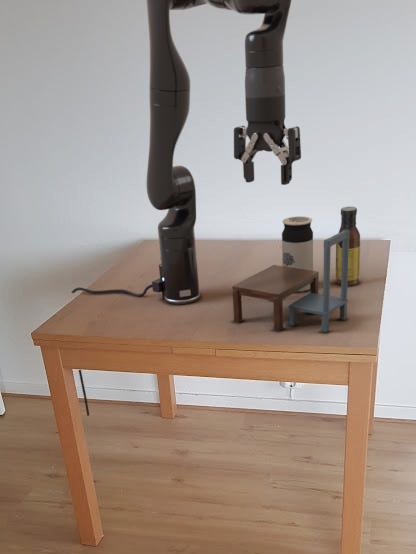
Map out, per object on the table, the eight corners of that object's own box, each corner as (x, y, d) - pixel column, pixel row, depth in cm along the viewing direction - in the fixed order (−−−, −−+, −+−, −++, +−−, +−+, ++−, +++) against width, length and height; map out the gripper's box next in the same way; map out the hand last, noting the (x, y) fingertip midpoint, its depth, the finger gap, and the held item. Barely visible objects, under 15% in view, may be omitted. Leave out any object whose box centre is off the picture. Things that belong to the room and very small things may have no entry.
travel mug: (302, 280, 187) (302, 214, 178) (318, 288, 181) (319, 220, 172) (277, 286, 185) (275, 219, 176) (292, 294, 178) (292, 225, 169)
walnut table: (234, 321, 165) (232, 286, 160) (274, 298, 177) (273, 264, 172) (279, 331, 158) (278, 294, 153) (318, 306, 170) (318, 271, 165)
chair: (288, 324, 160) (287, 236, 150) (310, 311, 167) (310, 225, 156) (326, 332, 155) (328, 241, 144) (347, 318, 161) (350, 229, 151)
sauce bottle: (343, 277, 187) (345, 203, 177) (363, 281, 184) (366, 205, 174) (330, 284, 183) (332, 209, 173) (351, 288, 179) (354, 211, 169)
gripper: (308, 90, 127) (307, 181, 135) (245, 91, 135) (248, 177, 143) (286, 95, 122) (287, 189, 130) (223, 96, 130) (227, 184, 138)
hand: (267, 182), depth 137 cm, fingers open, 8 cm apart
